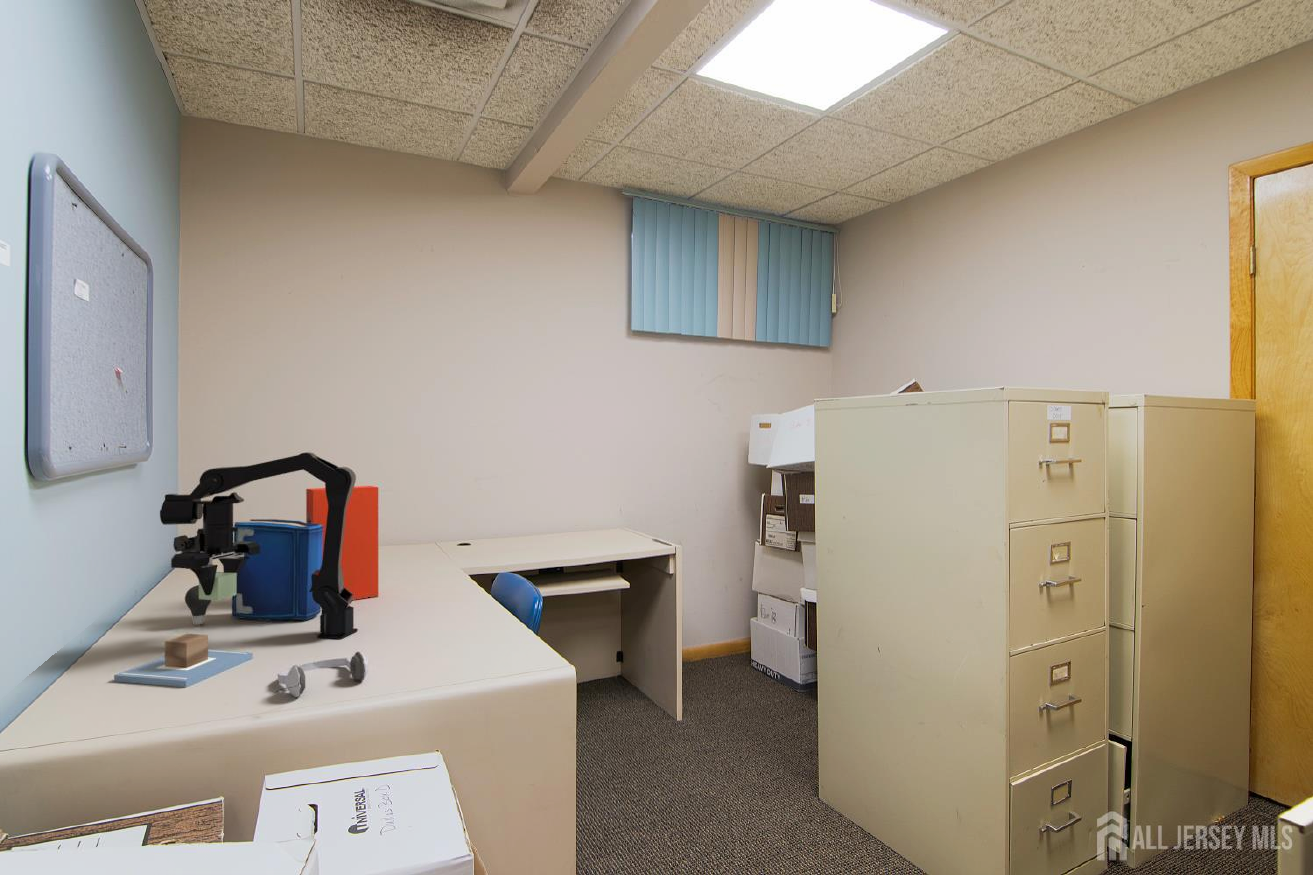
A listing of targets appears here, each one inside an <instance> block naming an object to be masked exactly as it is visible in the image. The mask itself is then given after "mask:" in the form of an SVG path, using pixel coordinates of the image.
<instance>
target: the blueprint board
mask: <svg viewBox="0 0 1313 875" xmlns="http://www.w3.org/2000/svg"><path fill="white" fill-rule="evenodd" d="M253 658H254V656H253V652H248V651H247V652H246V651H245V652H244V651H233V650H220V649H208V660H205V661H203V662H200V663H198V664H195V665H193V666H190V667H188V668H180V667H167V666H165V656H162V657H160V658H159V657H158V658H157V659H153V660H152V661H149V662H146V663H144V664H141V665H138V666H135V667H132V668H130V669H127V670H123V671H122V672H119V673H116V674H114V675H113V681H114V682H117V683H128V682H130V684H140V685H141V684H144V685H151V686H152V685H154V686H165V687H176V688H177V687H178V688H187V687H191V686H192V685H194V684H197V683H200V682H202V681H204V680H207V679H208V678H211V677H213V676H215V675H218V674H221V673H222V672H224V671H227V670H230V669H231V668H234V667H236V666H238V665H240V664H242V663H245V662H247V661H250V660H252V659H253Z"/></svg>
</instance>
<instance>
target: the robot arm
mask: <svg viewBox="0 0 1313 875" xmlns="http://www.w3.org/2000/svg"><path fill="white" fill-rule="evenodd" d="M297 471H305V472H307V473H308V474H310V475H311V476H313V477H314V478H316V479H318V480H319V481H321V482H323V483H324V488H325V489H326V497H327V502H328V514H327V523H326V532H325V541H324V550H323V559H322V566H321V568H320V570H318V569H317V570H316V571H315V572H314V573H313V574H312V575H311V580H312V586H311V589H310V591H309V592H312V591H313V592H312V598H313V600H314V601H315V602H316V603H317V604H319V605H320V606H321V614H320V615H319V632H320V633H318V634H317V635H316V637H317V638H322V639H323V638H325V639H337V640H338V639H340V640H341V639H343V638H345V637H347V636H350V635H352V634H355V633H356V632H358V630H359V629H358V628H355V627H354V625H355V624H354V620H355V619H354V612H355V609H354V606H351V603H352V601H353V600H352V599H353V597H354V595H353V594H352V593H351V592H350V591H348V590H347V589H346V588H345V587H344V581H343V572H342V567H341V556H342V547H343V538H344V529H345V520H346V511H347V505H348V502H349V499H350V497H351V494H352V491H353V488H354V487H355V484H356V480H357V476H356V474H355V472H354V471H353V469H351V468H349V467H347V466H338V465H336V464H334V463H332V462H330V461H327V460H325V459H324V458H321V457H320V456H317V455H316V454H315V453H314V452H309V451H307V452H301V453H299V454H297V455H292V456H288V457H283V458H277V459H274V460H268V461H266V462H260V463H256V464H252V465H245V466H244V465H243V466H241V465H240V466H222V467H216V468H209V469H207V470H205V471H203V472H202V473H201V476H200V477H199V484H197V486H196V487H195V488H194V489H193V490H192V491H191V493H190V494H178V493H168V494H165V495H164V501H163V503H162V504H161V509H160V510H159V519H160V522H161V523H162V525H165V526H166V525H195V524H196V523H197V522H198V520H201V519H202V527H201V528H197V531H196V535H195V536H191V537H188V536H187V535H185V534H184V535H178V536H176V537H174V538H173V544H172V545H173V549H174V551H175V552H177V553H176V554H174V555H173V556H172V557H171V558H170V562H171V564H170V567H171V568H172V569H185V570H190V571H192V573H194V575H196V577H197V579H198V583H199V582H200V584H201V586H202V589H203V591H204V593H205V595H211V592H212V589H213V585H214V580H215V576H216V572H218V571H217V570H218V564H213V560H216V559H218V561H219V562H220V563H221V565H222V567H223V569H222V570H223V572H226V573H237V576H238V574H239V572H240V570H241V569H242V567H243V566H244V564H245V562H246V561H247V560H249V557H244V553H248V554H249V555H255V554H259V553H260V545H259V544H258V543H257V542H250V541H239V542H234V532H235V531H238V527H234V504H239V503H240V504H241V503H243V502H244V501H245V499H244V498H243V497H241V496H240V495H238V493H237V492H236V491H234V492H231V493H230V494H228V495H219V494H223V493H226V492H229V491H232V490H235V489H237V488H240V487H242V486H244V485H246V484H249V483H252V482H253V481H258V480H262V479H266V478H267V479H268V478H271V477H276V476H280V475H285V474H289V473H294V472H297ZM212 496H214V497H213V498H212V500H211V499H210V500H208V499H207V500H204V499H205V498H209V497H212ZM202 499H203V500H202ZM178 552H180V553H178Z"/></svg>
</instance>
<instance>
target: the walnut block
mask: <svg viewBox="0 0 1313 875" xmlns="http://www.w3.org/2000/svg"><path fill="white" fill-rule="evenodd" d="M208 650H209V634H196V633H185V634H183V635H179V636H177V637H173V638H170V639H167V640H165V641H164V657H165V666H167V667H180V668H188V667H190V666H193V665H195V664H198V663H200V662H203V661H205V660H208Z"/></svg>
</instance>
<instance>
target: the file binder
mask: <svg viewBox="0 0 1313 875" xmlns="http://www.w3.org/2000/svg"><path fill="white" fill-rule="evenodd" d="M305 491H306V492H305V495H306V496H305V498H306V499H305V500H306V501H305V502H306V504H305V505H306V507H305V510H306V511H305V512H306V513H305V515H306V519H305V520H306V522H305V523H307V524H320V525H322V526H323V549H322V559H323V550H324V541H325V532H326V523H327V514H328V502H327V497H326V489H325V487H318V488H317V487H316V488H306V490H305ZM341 567H342V572H343V581H344V587H345V588H346V589H347V590H348V591H350V592H351V593H352V594H353V595H354V597H353V599H352V601H355V599H357V600H362V598H364V599H369V598H368V597H370V598H376V596H377V597H379V487H378V486H374V485H360V486H359V485H358V486H357V485H356V486H354V488H353V491H352V494H351V497H350V499H349V502H348V505H347V511H346V520H345V529H344V538H343V547H342V556H341Z"/></svg>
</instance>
